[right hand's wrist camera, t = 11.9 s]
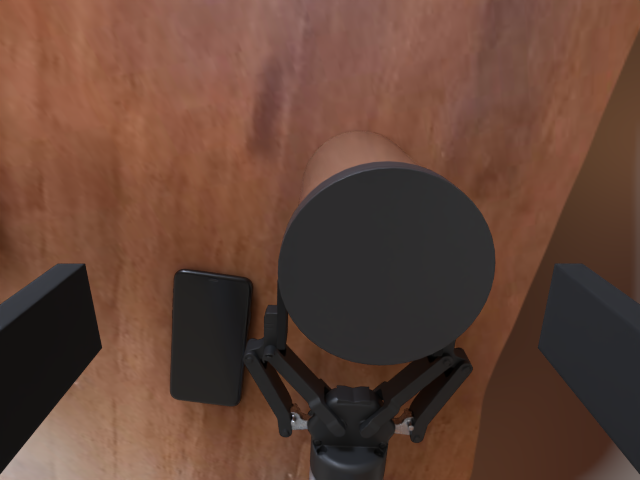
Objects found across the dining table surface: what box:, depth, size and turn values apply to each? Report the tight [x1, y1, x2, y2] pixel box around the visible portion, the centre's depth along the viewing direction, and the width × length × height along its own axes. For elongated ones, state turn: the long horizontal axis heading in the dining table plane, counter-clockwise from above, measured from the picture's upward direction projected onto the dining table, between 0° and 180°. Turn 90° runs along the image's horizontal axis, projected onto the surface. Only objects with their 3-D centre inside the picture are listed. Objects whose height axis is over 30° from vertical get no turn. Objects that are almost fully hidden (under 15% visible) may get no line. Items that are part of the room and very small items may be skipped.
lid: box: [278, 161, 495, 365], centre depth 24 cm, size 11×11×2 cm
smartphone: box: [170, 269, 253, 406], centre depth 46 cm, size 8×1×16 cm
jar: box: [298, 131, 419, 206], centre depth 32 cm, size 10×10×19 cm
